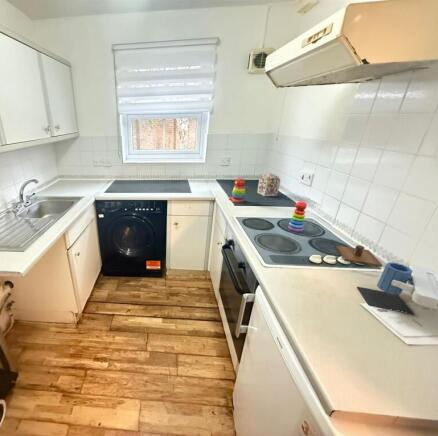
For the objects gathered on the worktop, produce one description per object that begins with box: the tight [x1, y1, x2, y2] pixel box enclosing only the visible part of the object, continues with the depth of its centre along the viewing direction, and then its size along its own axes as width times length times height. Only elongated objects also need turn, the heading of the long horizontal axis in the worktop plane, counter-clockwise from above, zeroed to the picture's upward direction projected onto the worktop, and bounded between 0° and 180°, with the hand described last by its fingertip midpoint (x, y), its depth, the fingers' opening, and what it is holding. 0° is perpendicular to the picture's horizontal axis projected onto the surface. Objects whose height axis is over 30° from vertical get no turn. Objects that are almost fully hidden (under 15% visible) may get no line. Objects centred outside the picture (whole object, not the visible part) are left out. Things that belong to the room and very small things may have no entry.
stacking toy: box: [287, 200, 308, 233], centre depth 130 cm, size 8×8×19 cm
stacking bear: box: [228, 177, 246, 204], centre depth 182 cm, size 11×10×18 cm
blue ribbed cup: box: [376, 261, 412, 296], centre depth 81 cm, size 6×6×9 cm
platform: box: [334, 244, 383, 268], centre depth 107 cm, size 13×13×7 cm
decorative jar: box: [256, 172, 281, 198], centre depth 197 cm, size 12×12×18 cm
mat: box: [356, 286, 415, 315], centre depth 84 cm, size 12×10×1 cm
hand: (391, 276), depth 81 cm, fingers closed on blue ribbed cup, 6 cm apart
